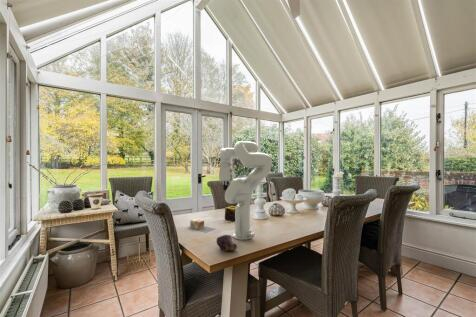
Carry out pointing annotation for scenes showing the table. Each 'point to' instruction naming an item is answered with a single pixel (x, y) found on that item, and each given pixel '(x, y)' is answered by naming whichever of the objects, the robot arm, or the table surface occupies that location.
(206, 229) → the mat
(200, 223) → the maple block
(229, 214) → the candle
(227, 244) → the rock
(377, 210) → the table surface
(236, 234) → the robot arm
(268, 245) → the table surface
